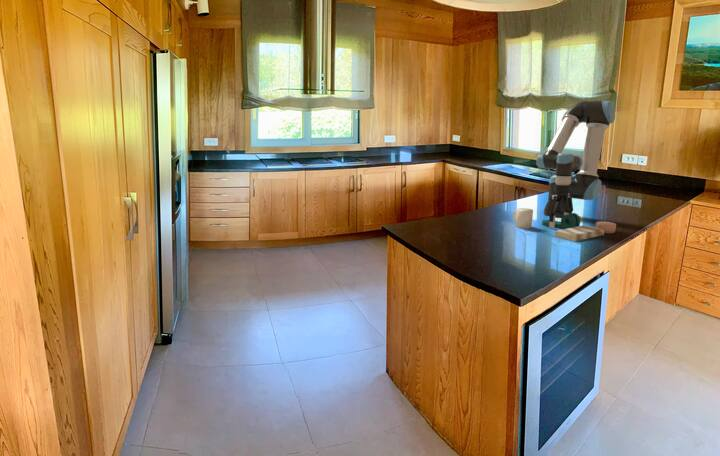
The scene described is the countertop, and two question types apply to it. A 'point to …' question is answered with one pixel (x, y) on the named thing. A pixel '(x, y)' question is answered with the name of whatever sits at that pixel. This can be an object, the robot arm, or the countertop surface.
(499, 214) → the countertop surface
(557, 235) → the tray
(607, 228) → the peach flattened dome
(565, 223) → the bracket
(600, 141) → the robot arm
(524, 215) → the mug
